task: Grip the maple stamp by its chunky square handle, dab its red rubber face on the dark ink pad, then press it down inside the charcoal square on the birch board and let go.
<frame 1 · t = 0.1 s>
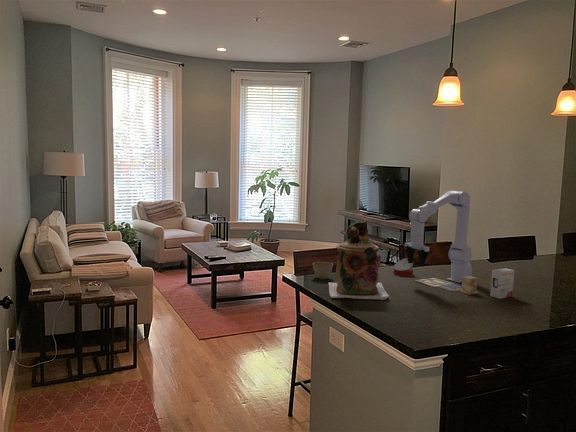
hand: (415, 264, 228), 10 cm above the countertop, tool pointing down, fingers open, 7 cm apart
cookie jar: (357, 293, 215), on the countertop
ink pad: (452, 288, 226), on the countertop
stamp: (468, 292, 219), on the countertop
flower pot: (322, 278, 242), on the countertop
marked board: (434, 283, 236), on the countertop
ink box: (501, 297, 213), on the countertop
canned food: (402, 274, 255), on the countertop
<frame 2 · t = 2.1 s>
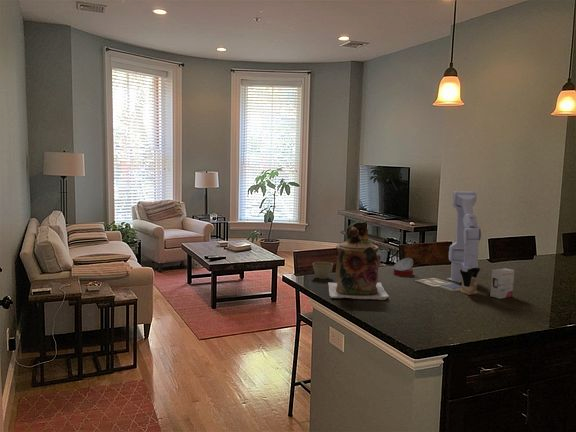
hand: (469, 285, 218), 3 cm above the countertop, tool pointing down, fingers closed on stamp, 6 cm apart
stamp: (468, 292, 219), on the countertop, touching gripper
everything else where it was.
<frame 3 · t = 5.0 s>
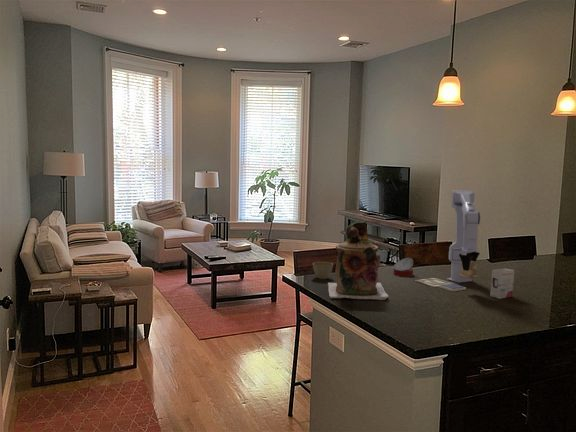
hand: (468, 269, 218), 10 cm above the countertop, tool pointing down, fingers closed on stamp, 6 cm apart
stamp: (468, 277, 219), point 7 cm above the countertop, touching gripper
everything else where it was.
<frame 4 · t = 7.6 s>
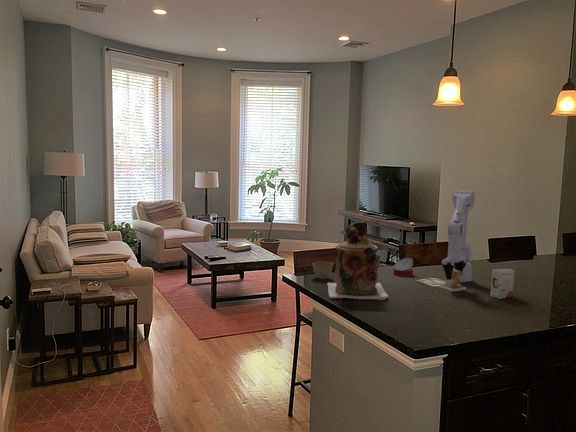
hand: (453, 278, 225), 5 cm above the countertop, tool pointing down, fingers closed on stamp, 6 cm apart
stamp: (452, 285, 226), point 1 cm above the countertop, touching gripper, ink pad
everything else where it was.
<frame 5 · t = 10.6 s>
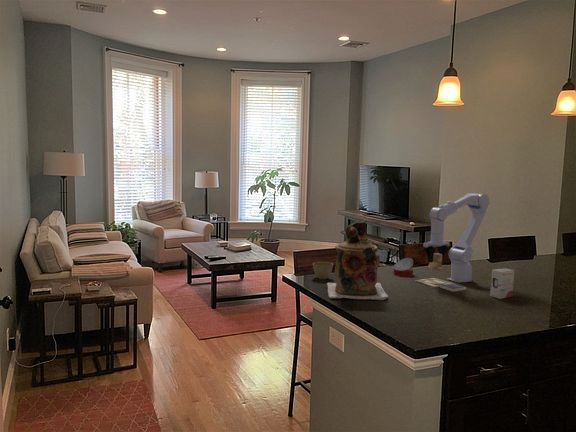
hand: (435, 261, 235), 10 cm above the countertop, tool pointing down, fingers closed on stamp, 6 cm apart
stamp: (435, 268, 235), point 7 cm above the countertop, touching gripper
everything else where it was.
when the fingers open (4 cm above the countertop, at t = 13.1 s): stamp stays where it is, resting on marked board.
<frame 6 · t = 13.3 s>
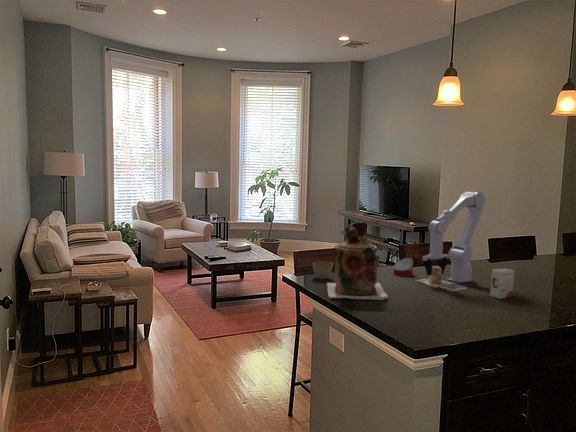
hand: (435, 274, 236), 4 cm above the countertop, tool pointing down, fingers open, 7 cm apart
stamp: (434, 281, 236), point 1 cm above the countertop, touching marked board
everything else where it was.
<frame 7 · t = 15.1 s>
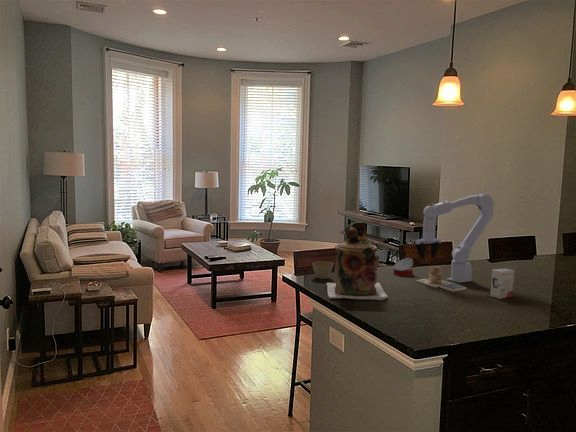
hand: (427, 258, 244), 10 cm above the countertop, tool pointing down, fingers open, 7 cm apart
nothing on the countertop moved.
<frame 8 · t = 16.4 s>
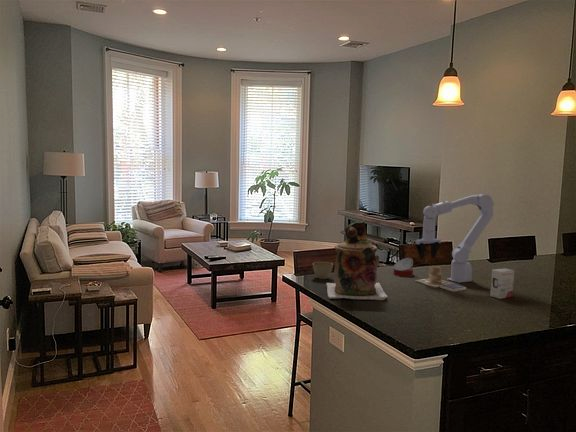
hand: (427, 258, 244), 10 cm above the countertop, tool pointing down, fingers open, 7 cm apart
at the end: stamp 0.0 cm off-centre on the marked board, point 0.6 cm above the marked board's base; stamp tilted 0°; the gripper is holding nothing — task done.
